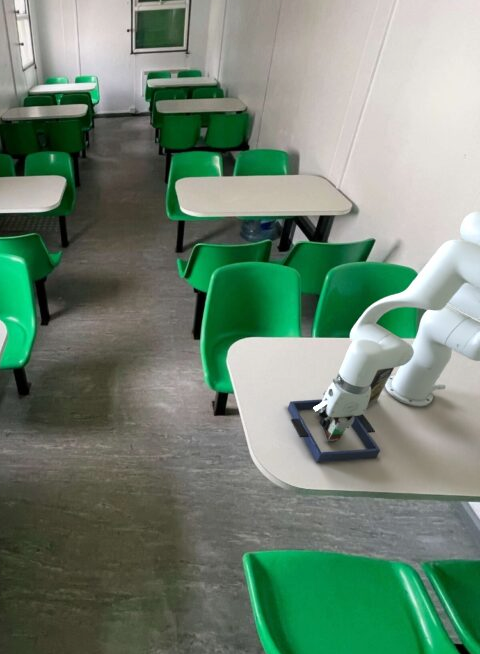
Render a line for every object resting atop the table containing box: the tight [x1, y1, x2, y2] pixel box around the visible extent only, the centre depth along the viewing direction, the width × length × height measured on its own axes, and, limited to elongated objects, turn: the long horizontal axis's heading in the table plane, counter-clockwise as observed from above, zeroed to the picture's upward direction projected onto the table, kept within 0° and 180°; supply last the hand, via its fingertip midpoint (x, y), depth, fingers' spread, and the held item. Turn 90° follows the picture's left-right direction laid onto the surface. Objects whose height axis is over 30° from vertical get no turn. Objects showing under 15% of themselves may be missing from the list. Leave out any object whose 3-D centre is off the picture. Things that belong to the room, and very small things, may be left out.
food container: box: [317, 390, 354, 444], centre depth 119 cm, size 12×6×10 cm, turn 172°
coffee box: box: [368, 367, 395, 406], centre depth 127 cm, size 9×6×16 cm
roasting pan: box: [287, 398, 382, 463], centre depth 121 cm, size 21×19×4 cm
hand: (333, 424), depth 121 cm, fingers closed on food container, 5 cm apart
